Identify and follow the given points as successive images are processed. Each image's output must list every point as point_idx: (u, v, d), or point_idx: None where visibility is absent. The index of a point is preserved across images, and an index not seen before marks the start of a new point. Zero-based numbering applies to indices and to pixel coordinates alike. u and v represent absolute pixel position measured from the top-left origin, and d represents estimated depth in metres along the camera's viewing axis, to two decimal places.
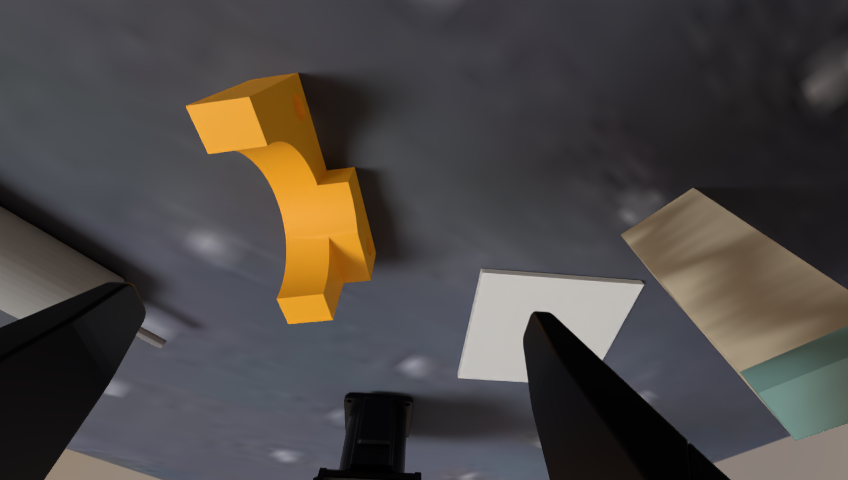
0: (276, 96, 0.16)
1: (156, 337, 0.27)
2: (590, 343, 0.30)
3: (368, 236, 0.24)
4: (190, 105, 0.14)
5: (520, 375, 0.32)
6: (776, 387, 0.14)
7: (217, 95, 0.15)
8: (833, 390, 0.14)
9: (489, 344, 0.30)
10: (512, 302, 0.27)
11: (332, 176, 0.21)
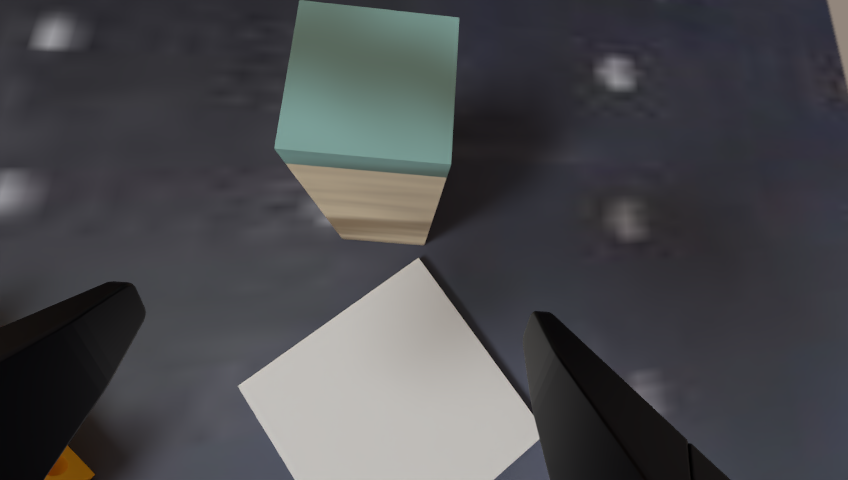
0: None
1: None
2: (461, 367, 0.20)
3: None
4: None
5: None
6: (282, 128, 0.10)
7: None
8: (351, 85, 0.11)
9: None
10: (309, 394, 0.19)
11: None
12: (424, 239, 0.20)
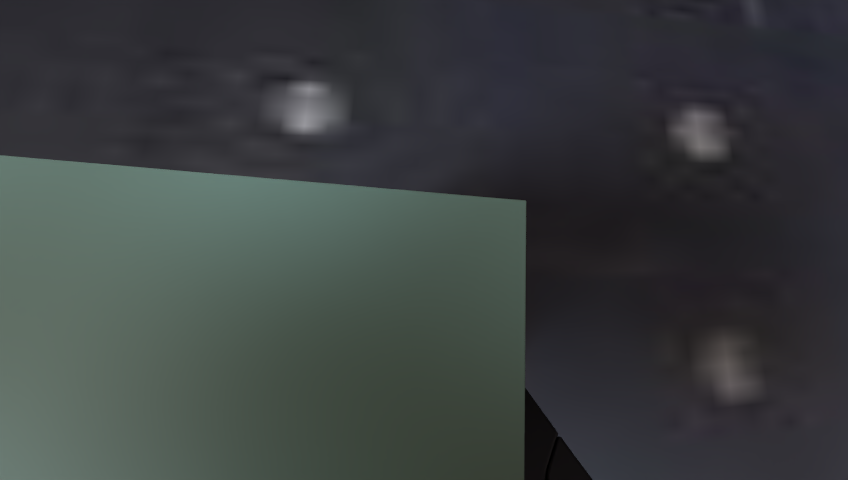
0: None
1: None
2: None
3: None
4: None
5: None
6: None
7: None
8: None
9: None
10: None
11: None
12: None
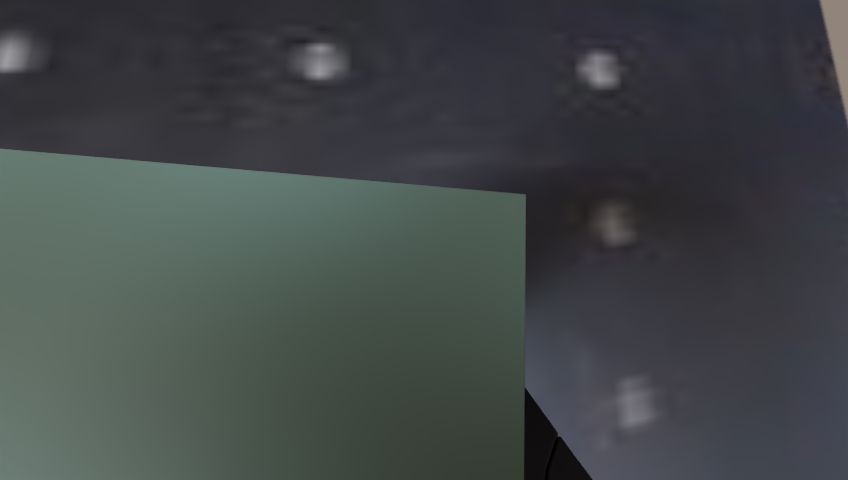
0: None
1: None
2: None
3: None
4: None
5: None
6: None
7: None
8: None
9: None
10: None
11: None
12: None
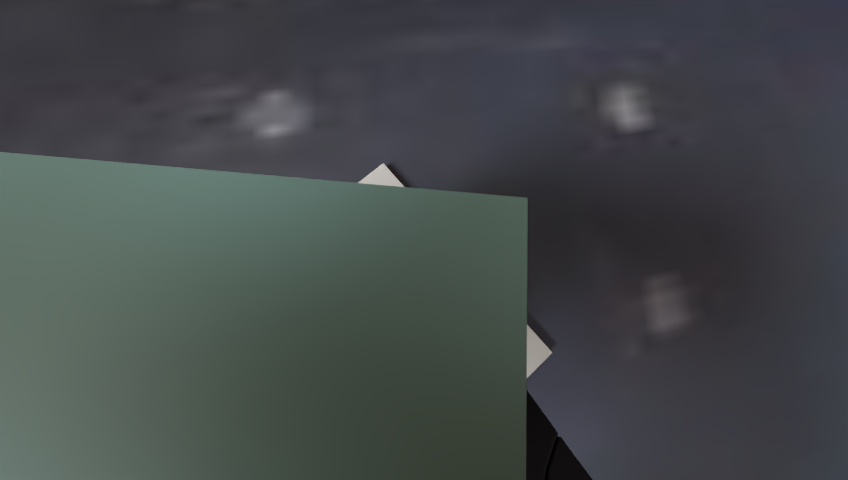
0: None
1: None
2: None
3: None
4: None
5: None
6: None
7: None
8: None
9: None
10: None
11: None
12: None
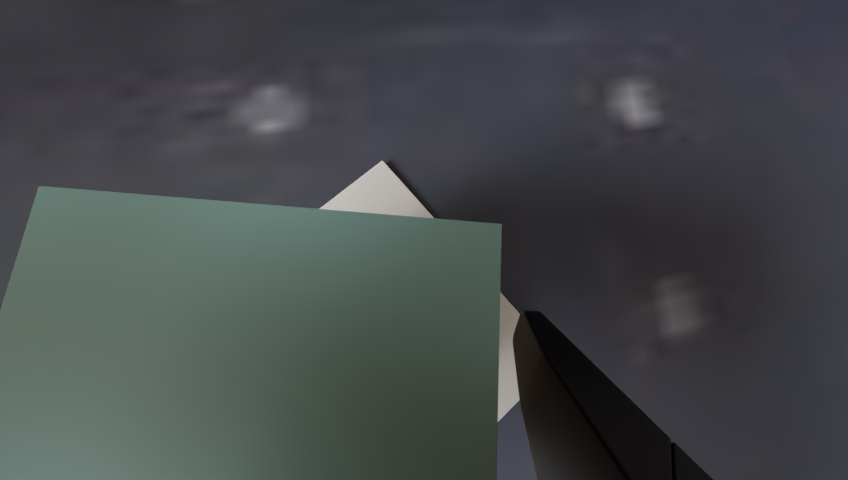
0: None
1: None
2: None
3: None
4: None
5: None
6: None
7: None
8: None
9: None
10: None
11: None
12: None
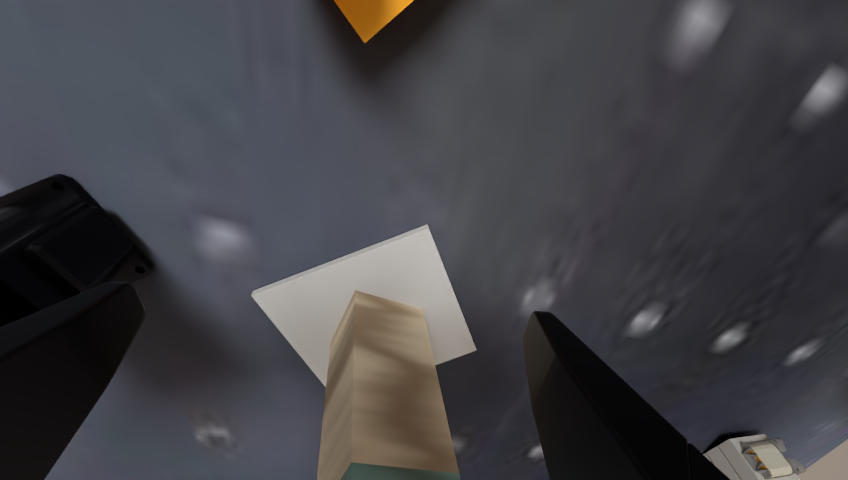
0: None
1: None
2: None
3: None
4: None
5: (306, 346, 0.25)
6: None
7: None
8: None
9: (333, 291, 0.23)
10: (405, 276, 0.24)
11: None
12: None
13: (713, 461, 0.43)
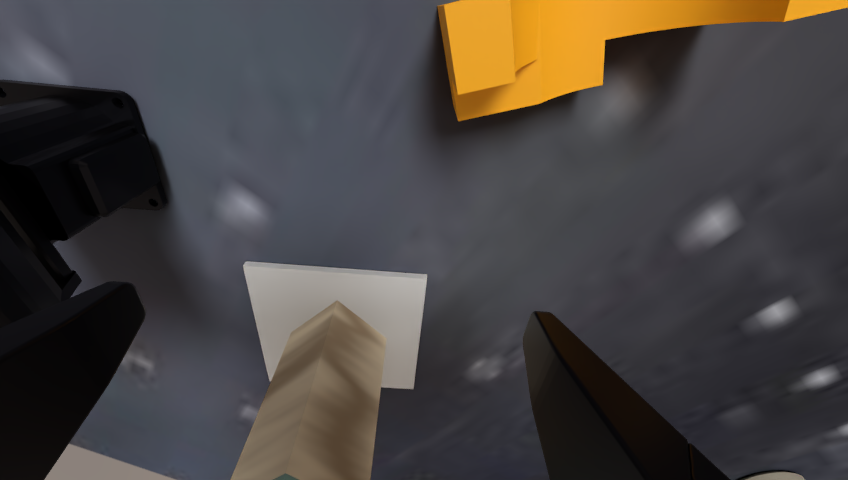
0: None
1: None
2: None
3: None
4: None
5: (268, 326, 0.26)
6: None
7: None
8: None
9: (317, 293, 0.24)
10: (386, 307, 0.25)
11: None
12: (284, 350, 0.25)
13: None
